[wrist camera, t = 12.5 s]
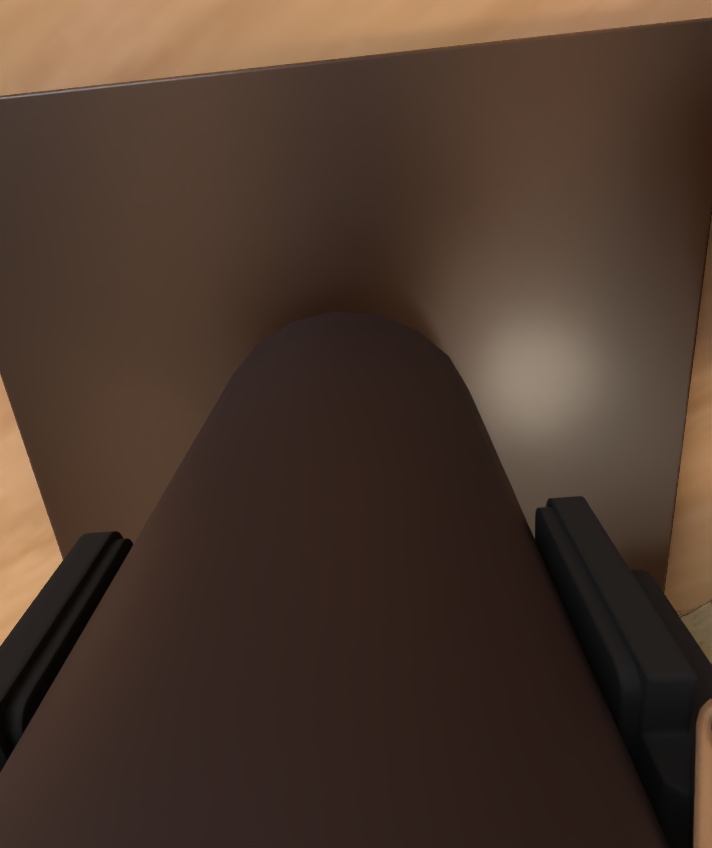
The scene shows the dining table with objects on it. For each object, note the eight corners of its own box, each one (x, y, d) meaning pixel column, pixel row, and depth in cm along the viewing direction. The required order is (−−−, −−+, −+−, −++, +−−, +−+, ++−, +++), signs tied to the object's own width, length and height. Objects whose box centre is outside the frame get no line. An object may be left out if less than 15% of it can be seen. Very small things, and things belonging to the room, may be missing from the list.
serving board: (706, 25, 16) (738, 13, 15) (643, 596, 23) (661, 624, 22) (-56, 108, 17) (-93, 105, 16) (111, 632, 24) (96, 661, 23)
